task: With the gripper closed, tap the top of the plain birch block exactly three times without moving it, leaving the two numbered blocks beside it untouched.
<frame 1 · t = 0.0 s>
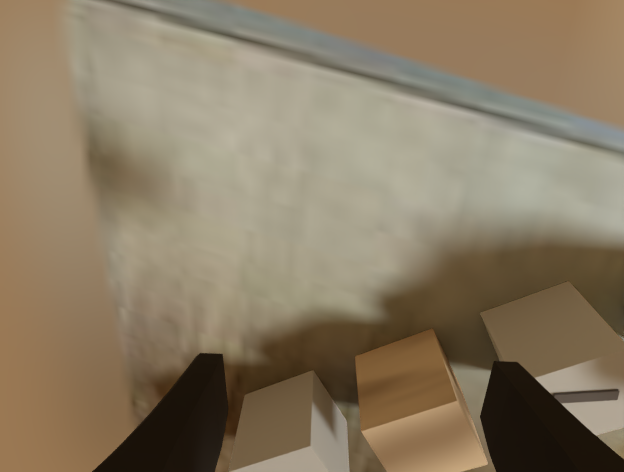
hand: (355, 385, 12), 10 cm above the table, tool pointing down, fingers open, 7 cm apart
marked block 1: (296, 407, 27), on the table
plain block: (408, 370, 25), on the table
marked block 7: (534, 328, 23), on the table
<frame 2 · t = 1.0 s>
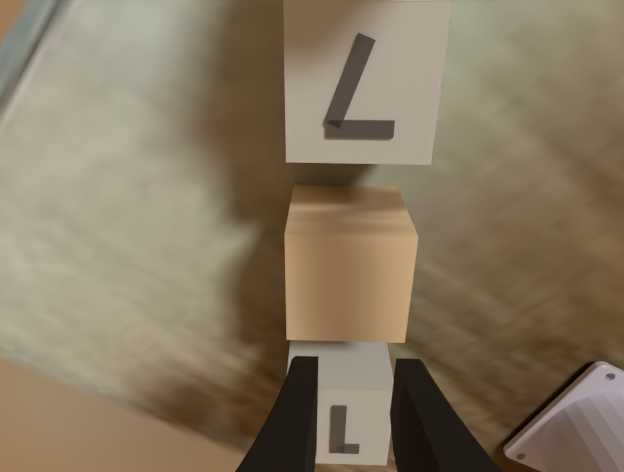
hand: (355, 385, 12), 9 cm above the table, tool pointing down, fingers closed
marked block 1: (336, 350, 24), on the table
plain block: (343, 231, 20), on the table
marked block 7: (353, 68, 17), on the table
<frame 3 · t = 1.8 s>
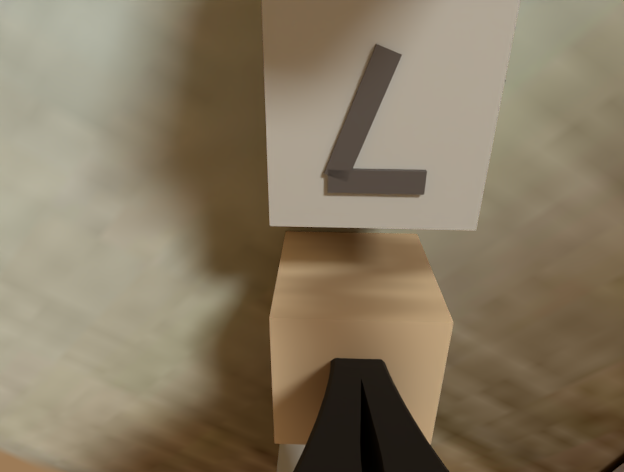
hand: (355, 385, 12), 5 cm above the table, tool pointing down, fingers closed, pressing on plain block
marked block 1: (338, 422, 19), on the table
plain block: (348, 286, 16), on the table, touching gripper
marked block 7: (362, 87, 13), on the table
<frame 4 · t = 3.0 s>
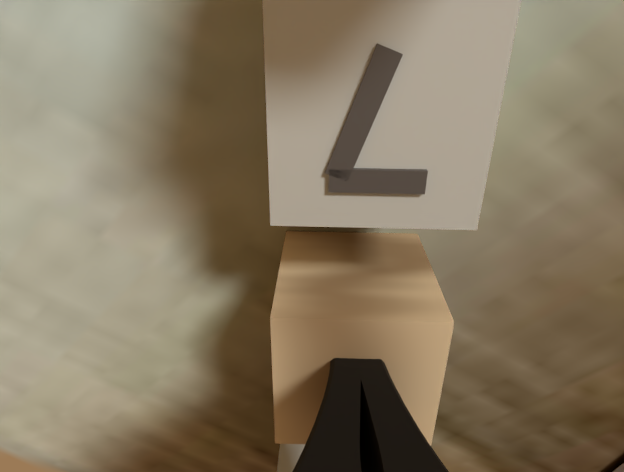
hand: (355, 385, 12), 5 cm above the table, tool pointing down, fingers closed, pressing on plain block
marked block 1: (338, 422, 19), on the table
plain block: (348, 286, 16), on the table, touching gripper
marked block 7: (362, 86, 13), on the table
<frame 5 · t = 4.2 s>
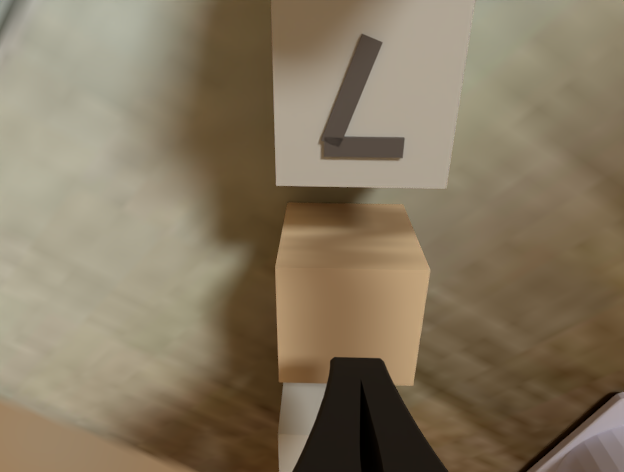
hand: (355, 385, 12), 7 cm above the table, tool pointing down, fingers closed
marked block 1: (334, 380, 22), on the table
plain block: (342, 253, 18), on the table
marked block 7: (353, 73, 15), on the table
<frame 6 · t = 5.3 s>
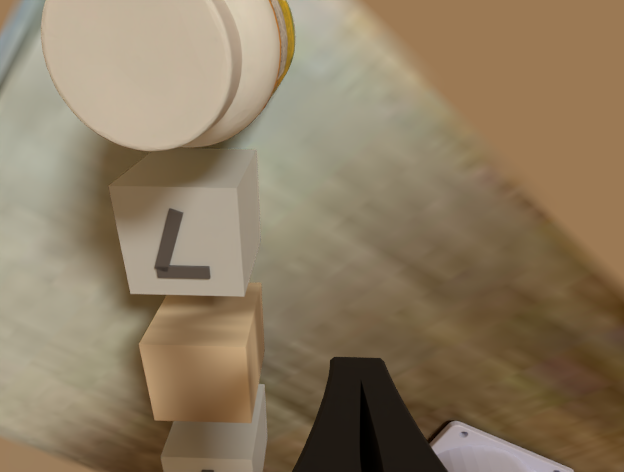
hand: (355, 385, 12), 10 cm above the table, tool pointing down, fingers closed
marked block 1: (229, 409, 27), on the table
supplement bottle: (229, 36, 18), on the table
plain block: (221, 316, 24), on the table
marked block 7: (211, 195, 21), on the table
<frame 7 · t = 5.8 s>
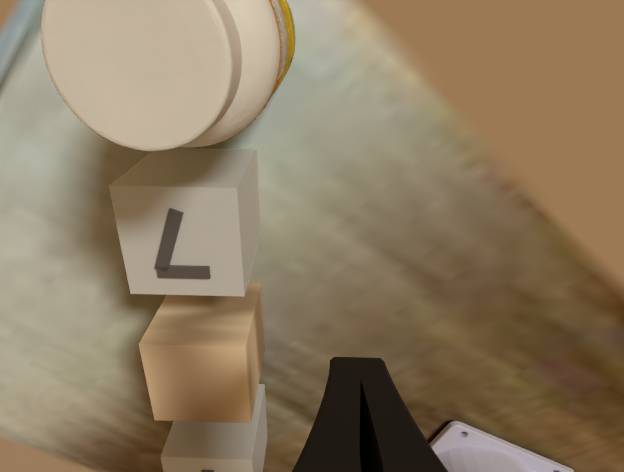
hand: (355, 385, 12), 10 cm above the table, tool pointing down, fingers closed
marked block 1: (229, 409, 27), on the table
supplement bottle: (229, 36, 18), on the table
plain block: (221, 316, 24), on the table
marked block 7: (211, 195, 21), on the table
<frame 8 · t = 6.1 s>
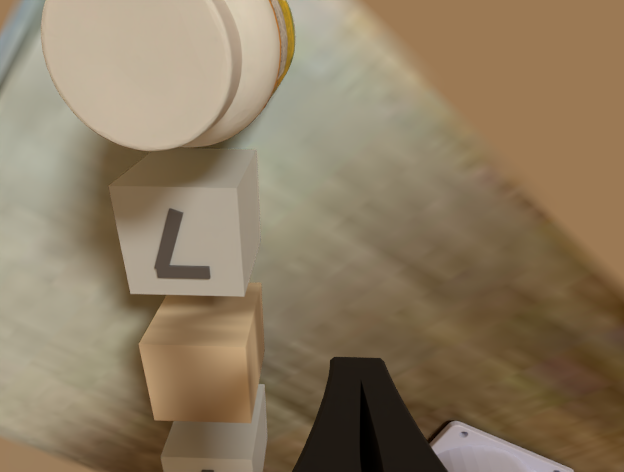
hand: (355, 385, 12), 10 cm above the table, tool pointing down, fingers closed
marked block 1: (229, 409, 27), on the table
supplement bottle: (229, 36, 18), on the table
plain block: (221, 316, 24), on the table
marked block 7: (211, 195, 21), on the table
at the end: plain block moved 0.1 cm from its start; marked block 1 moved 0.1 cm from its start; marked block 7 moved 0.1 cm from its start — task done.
